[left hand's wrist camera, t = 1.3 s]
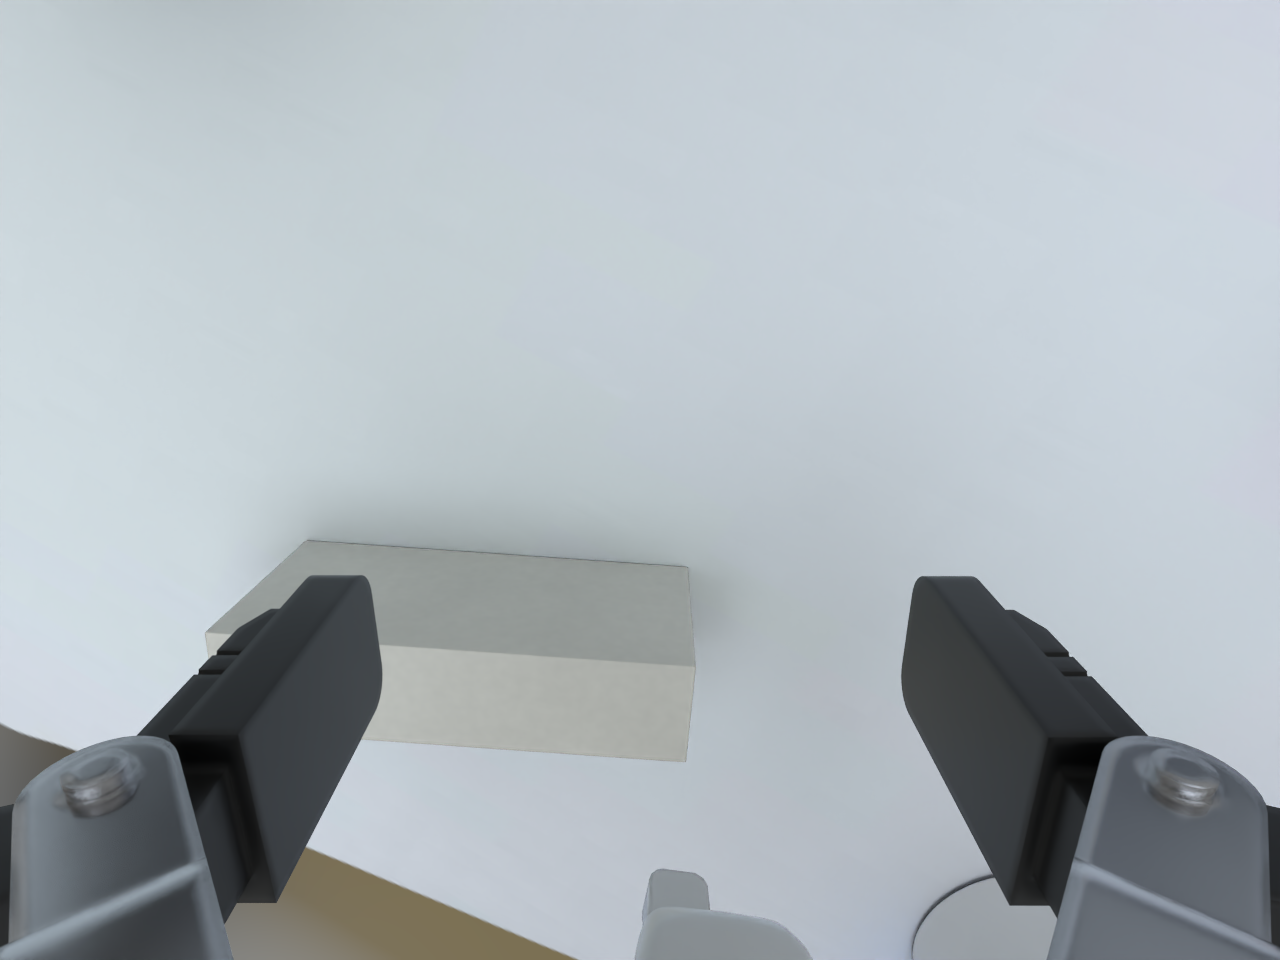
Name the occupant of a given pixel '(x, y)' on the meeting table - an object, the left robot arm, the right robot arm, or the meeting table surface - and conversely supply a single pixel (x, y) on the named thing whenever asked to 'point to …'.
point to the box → (513, 647)
